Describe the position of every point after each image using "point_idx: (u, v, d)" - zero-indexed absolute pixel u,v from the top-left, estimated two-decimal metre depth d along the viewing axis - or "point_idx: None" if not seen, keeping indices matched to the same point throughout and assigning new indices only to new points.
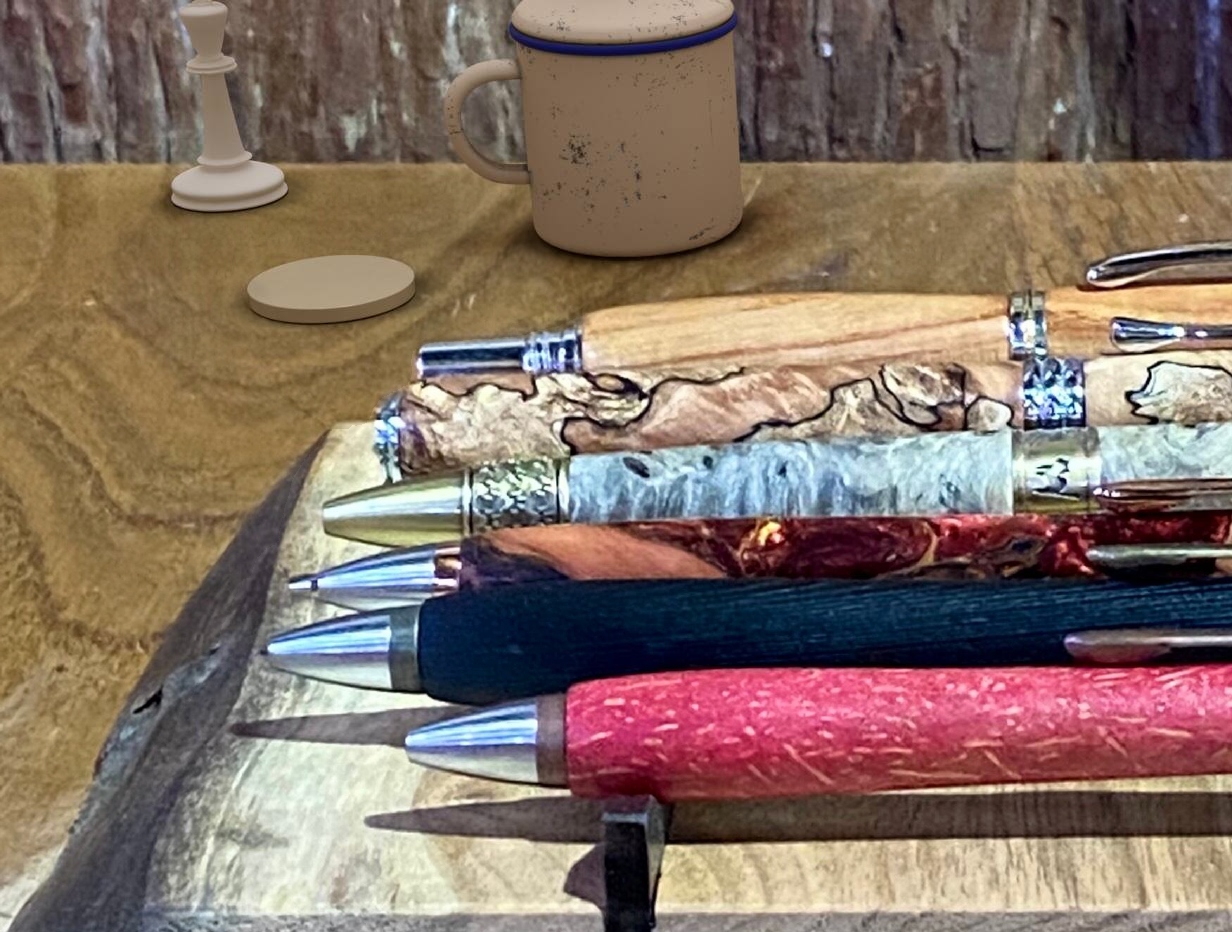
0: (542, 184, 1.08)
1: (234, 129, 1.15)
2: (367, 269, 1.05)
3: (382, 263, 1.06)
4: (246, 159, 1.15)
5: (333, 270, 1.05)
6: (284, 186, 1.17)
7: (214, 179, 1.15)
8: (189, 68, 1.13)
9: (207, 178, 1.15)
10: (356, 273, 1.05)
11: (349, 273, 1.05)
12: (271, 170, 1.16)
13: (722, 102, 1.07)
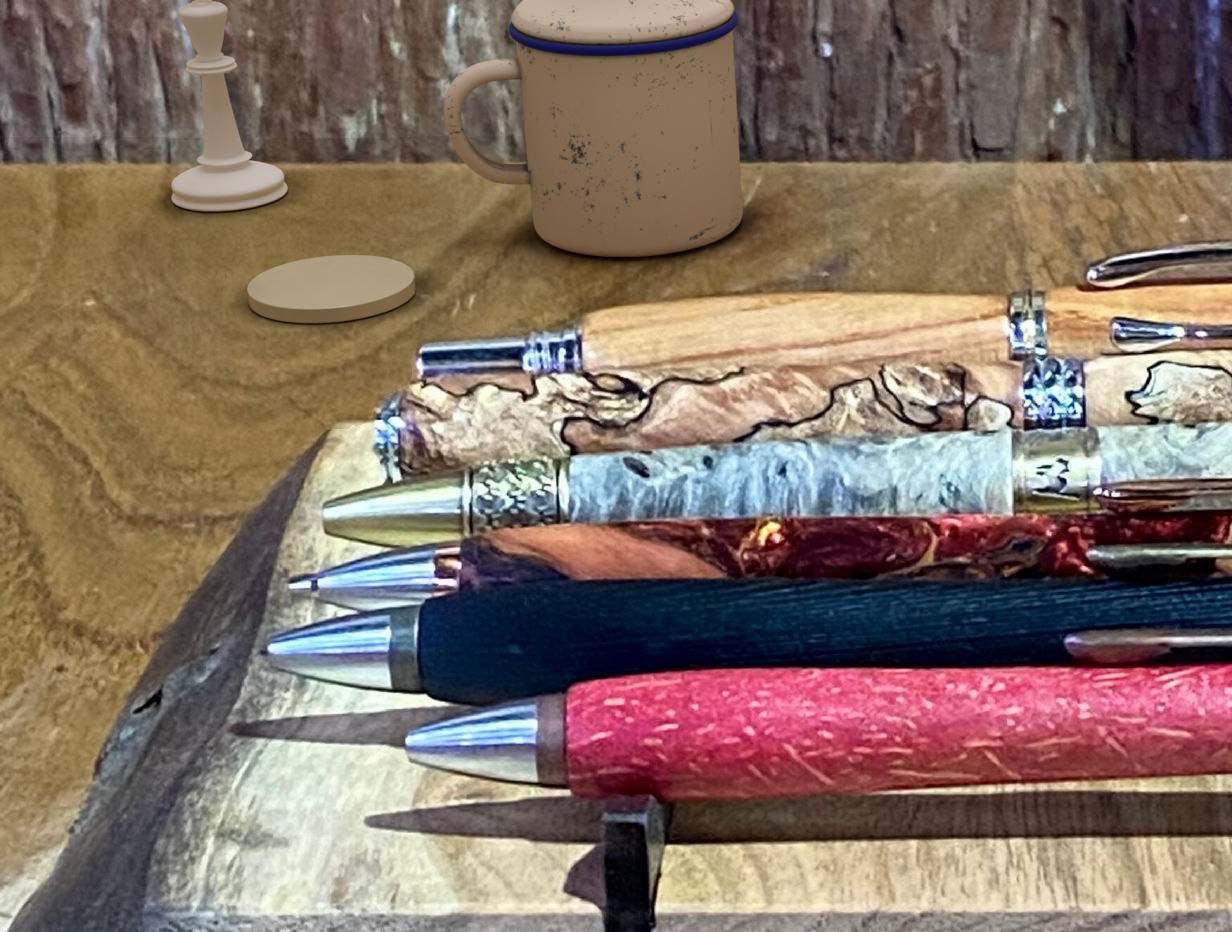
0: (542, 184, 1.08)
1: (234, 128, 1.15)
2: (367, 269, 1.05)
3: (382, 263, 1.06)
4: (246, 159, 1.15)
5: (333, 270, 1.05)
6: (284, 186, 1.17)
7: (214, 179, 1.15)
8: (189, 68, 1.13)
9: (207, 178, 1.15)
10: (356, 273, 1.05)
11: (349, 273, 1.05)
12: (271, 170, 1.16)
13: (722, 102, 1.07)
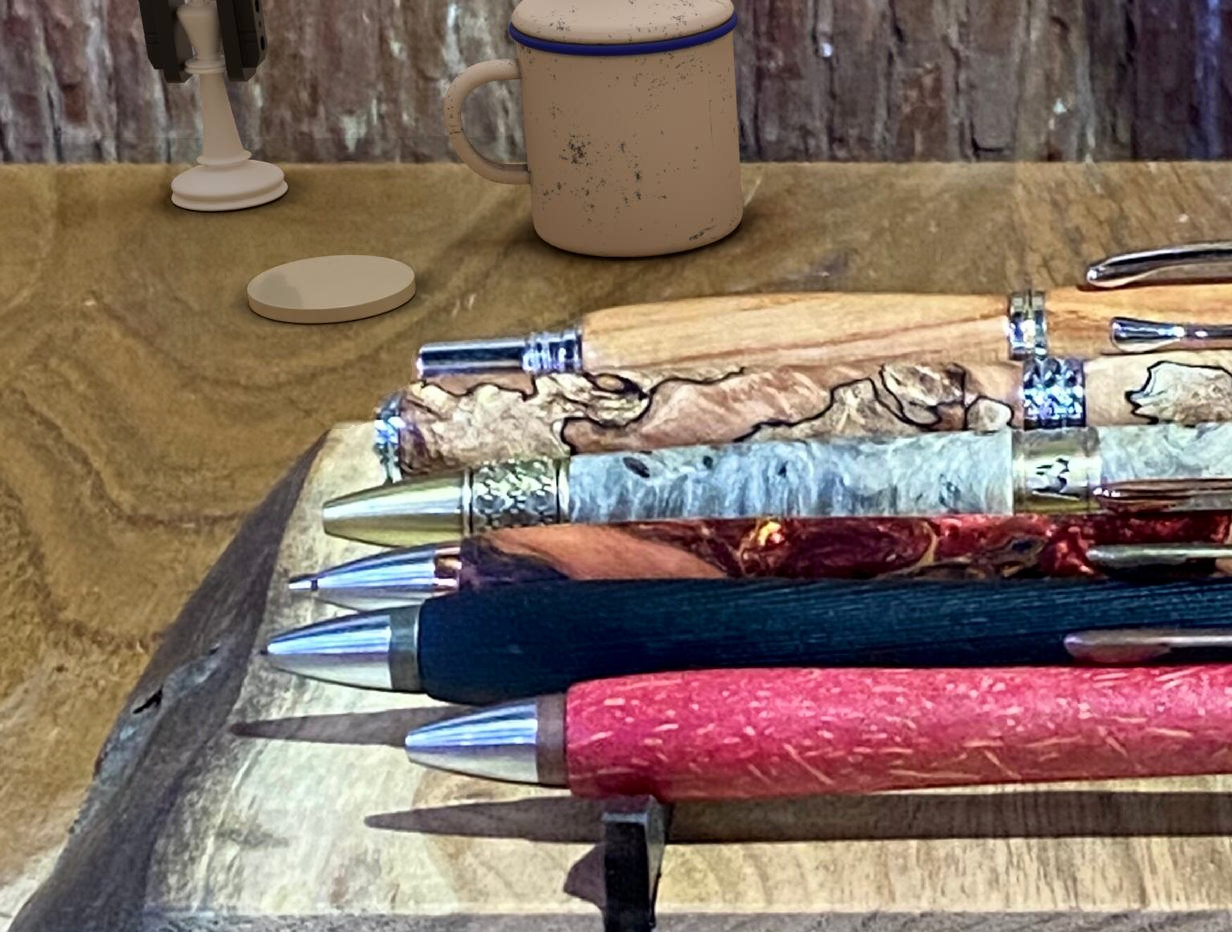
0: (542, 184, 1.08)
1: (233, 128, 1.15)
2: (367, 269, 1.05)
3: (382, 263, 1.06)
4: (245, 158, 1.15)
5: (333, 270, 1.05)
6: (284, 185, 1.17)
7: (213, 178, 1.15)
8: (187, 68, 1.13)
9: (207, 177, 1.15)
10: (356, 273, 1.05)
11: (349, 273, 1.05)
12: (271, 169, 1.16)
13: (722, 102, 1.07)
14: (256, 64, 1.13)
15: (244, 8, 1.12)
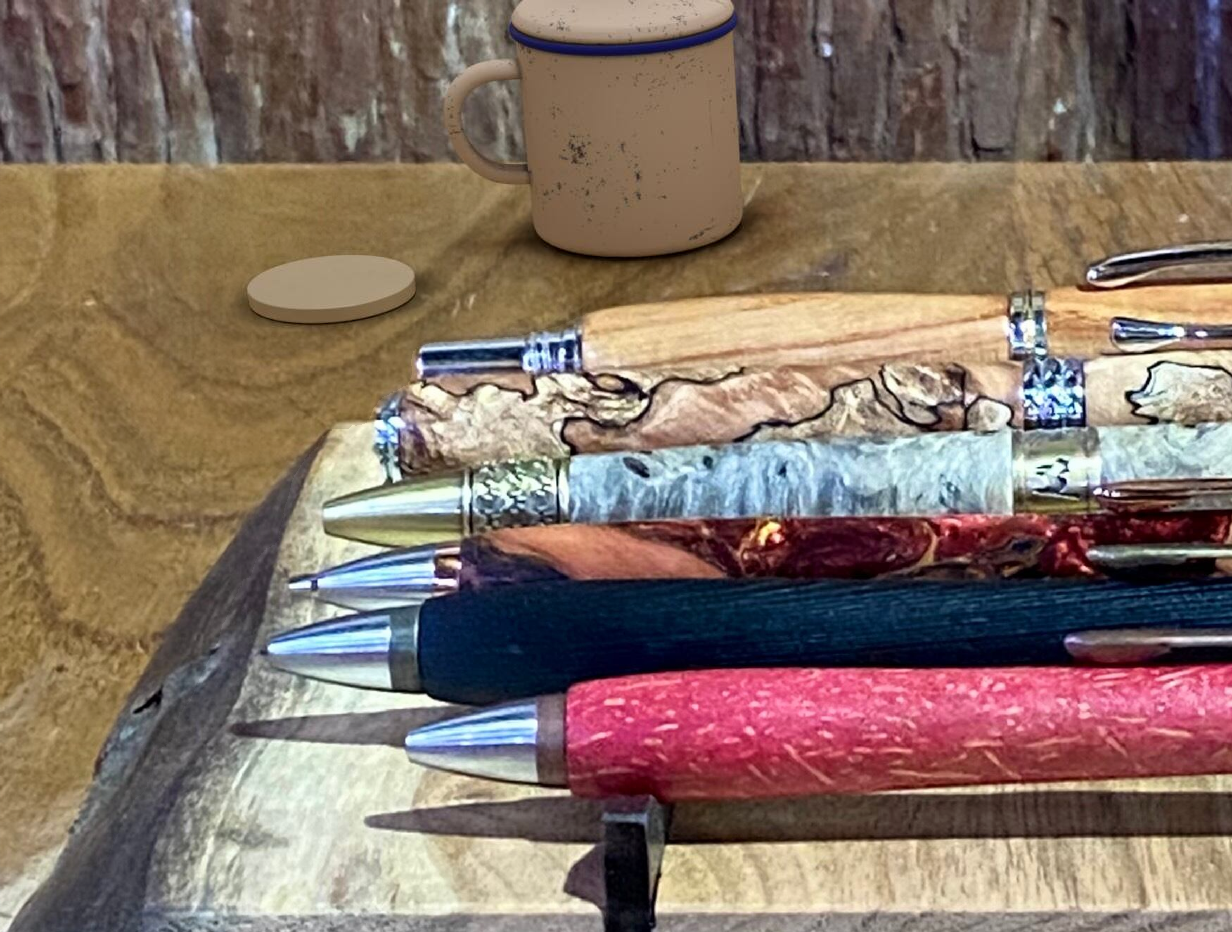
0: (542, 184, 1.08)
1: None
2: (367, 269, 1.05)
3: (382, 263, 1.06)
4: None
5: (333, 270, 1.05)
6: None
7: None
8: None
9: None
10: (356, 273, 1.05)
11: (349, 273, 1.05)
12: None
13: (722, 102, 1.07)
14: None
15: None
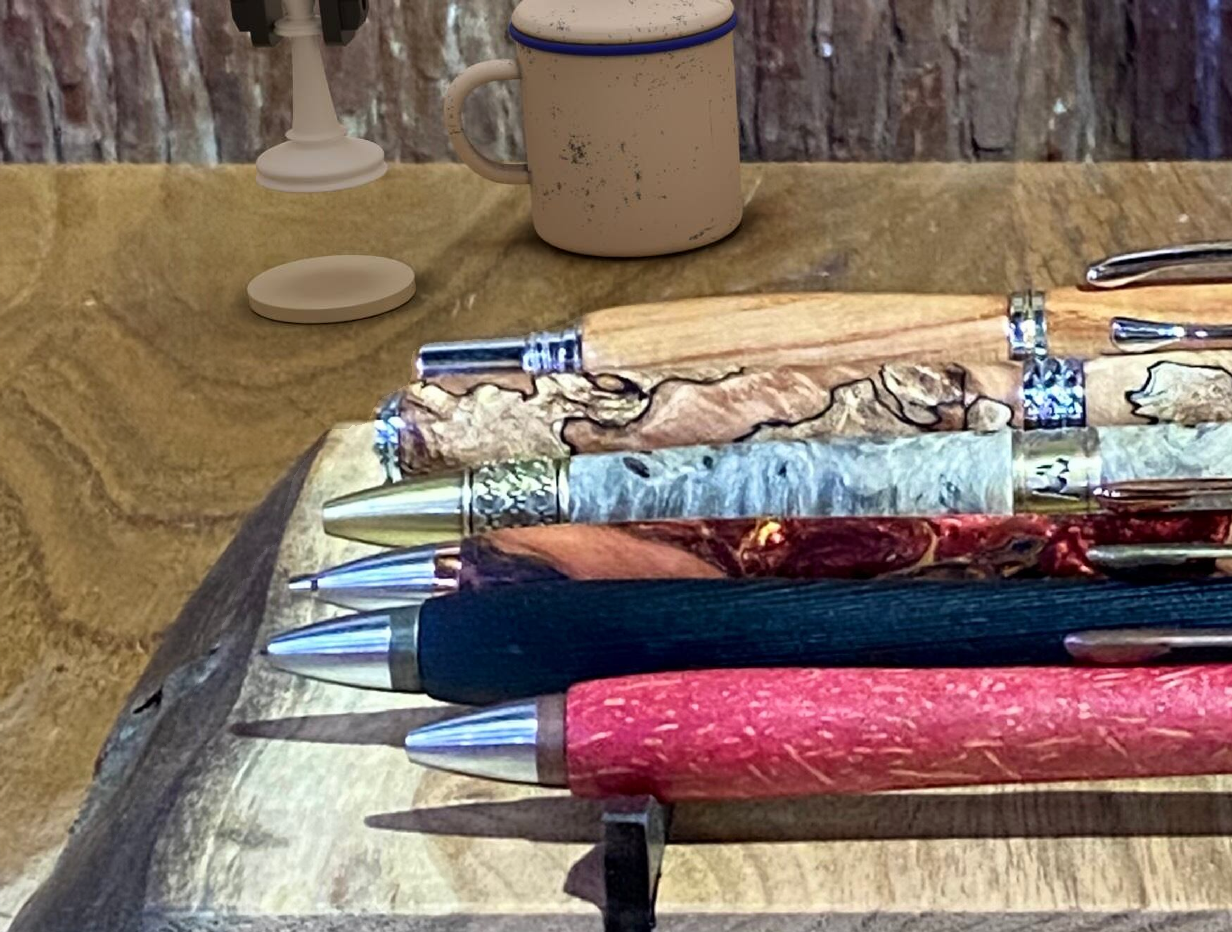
0: (542, 184, 1.08)
1: (328, 99, 1.00)
2: (367, 269, 1.05)
3: (382, 263, 1.06)
4: (341, 134, 1.01)
5: (333, 270, 1.05)
6: (384, 165, 1.02)
7: (305, 156, 1.00)
8: (277, 29, 0.99)
9: (297, 155, 1.00)
10: (356, 273, 1.05)
11: (349, 273, 1.05)
12: (369, 147, 1.02)
13: (722, 102, 1.07)
14: (356, 26, 0.99)
15: None
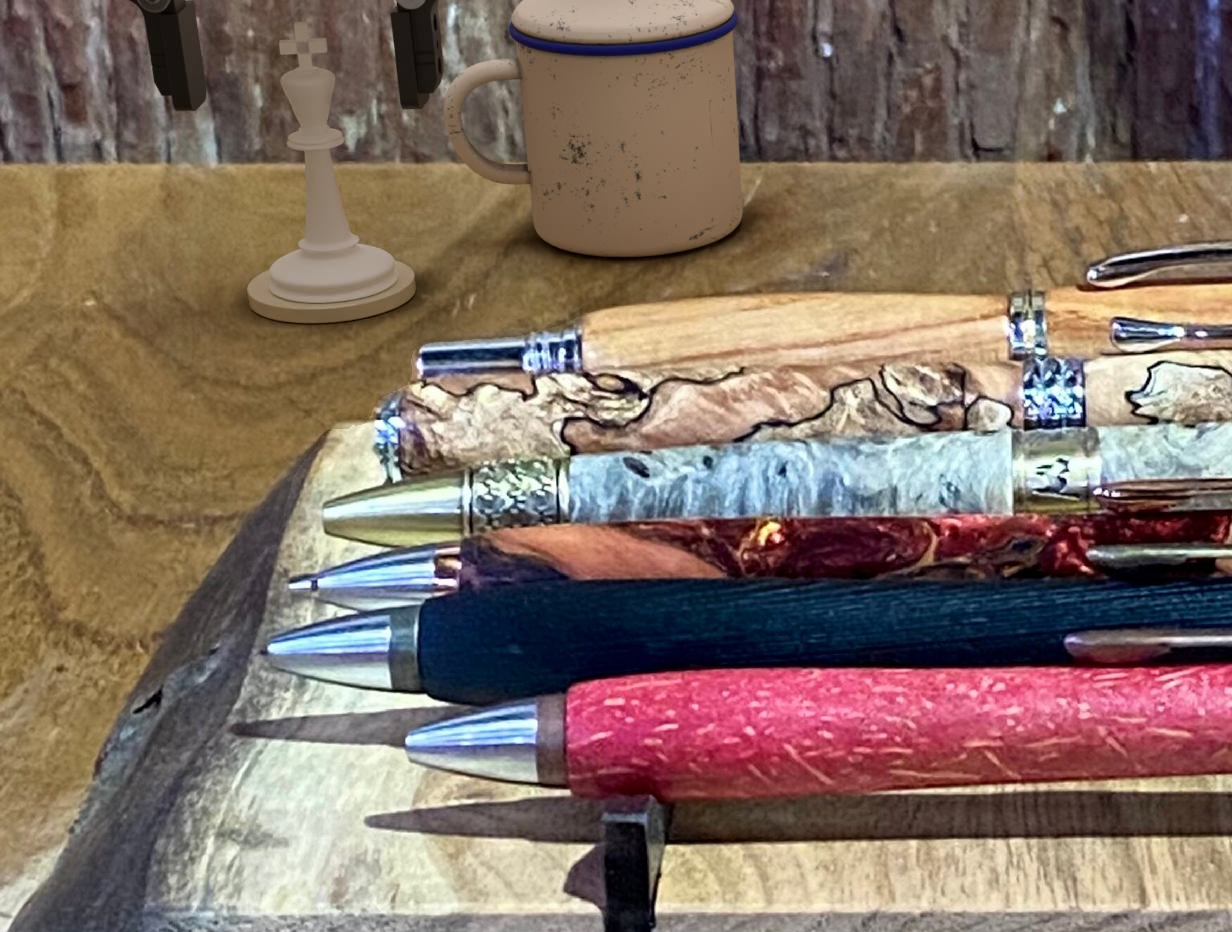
0: (542, 184, 1.08)
1: (340, 210, 1.02)
2: None
3: None
4: (353, 243, 1.03)
5: None
6: (395, 273, 1.04)
7: (317, 266, 1.02)
8: (291, 143, 1.01)
9: (310, 265, 1.02)
10: None
11: None
12: (380, 256, 1.04)
13: (722, 102, 1.07)
14: (433, 89, 1.00)
15: (422, 26, 0.99)
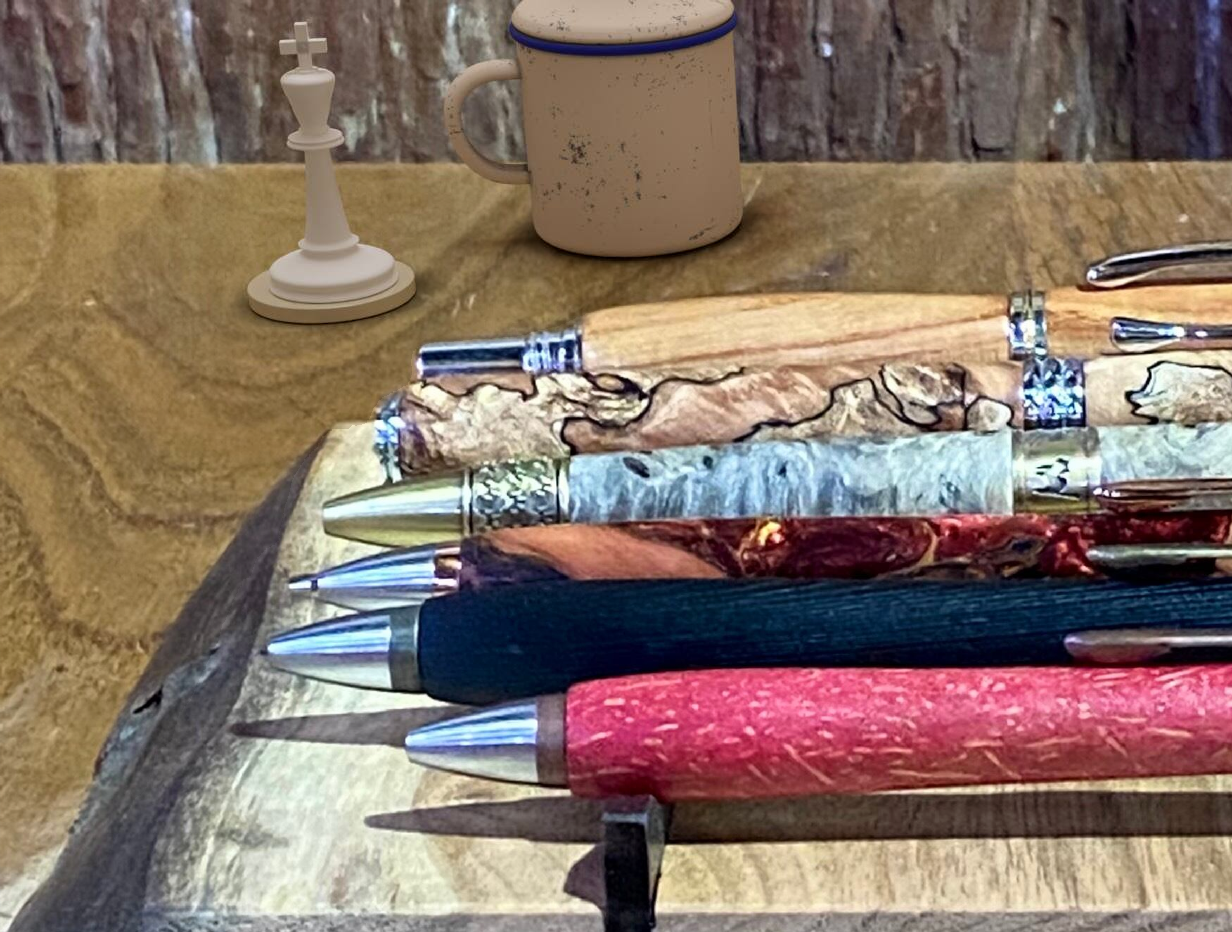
0: (542, 184, 1.08)
1: (340, 210, 1.02)
2: None
3: None
4: (353, 243, 1.03)
5: None
6: (395, 273, 1.04)
7: (317, 266, 1.02)
8: (291, 143, 1.01)
9: (310, 265, 1.02)
10: None
11: None
12: (380, 256, 1.04)
13: (722, 102, 1.07)
14: None
15: None
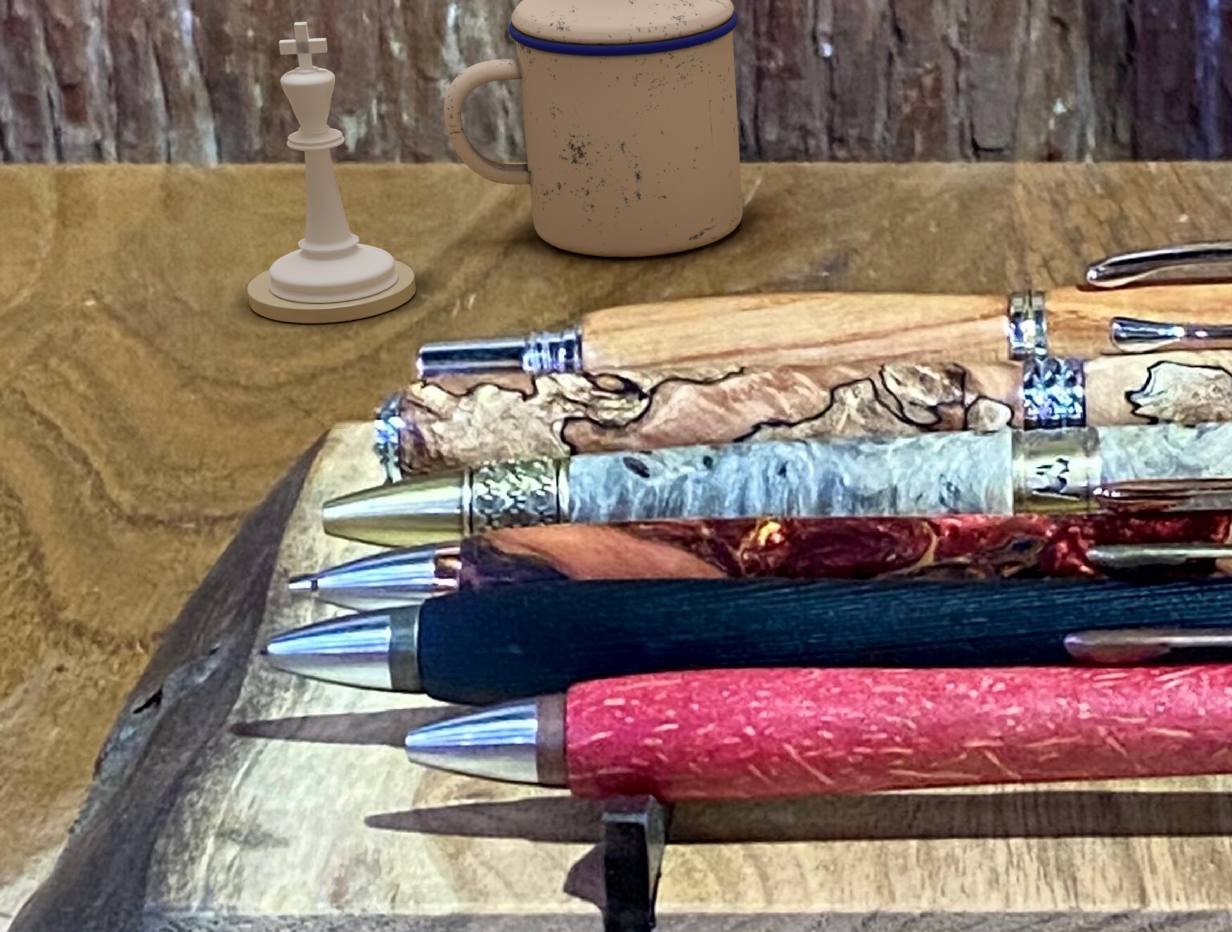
0: (542, 184, 1.08)
1: (340, 210, 1.02)
2: None
3: None
4: (353, 243, 1.03)
5: None
6: (395, 273, 1.04)
7: (317, 266, 1.02)
8: (291, 143, 1.01)
9: (310, 265, 1.02)
10: None
11: None
12: (380, 256, 1.04)
13: (722, 102, 1.07)
14: None
15: None
